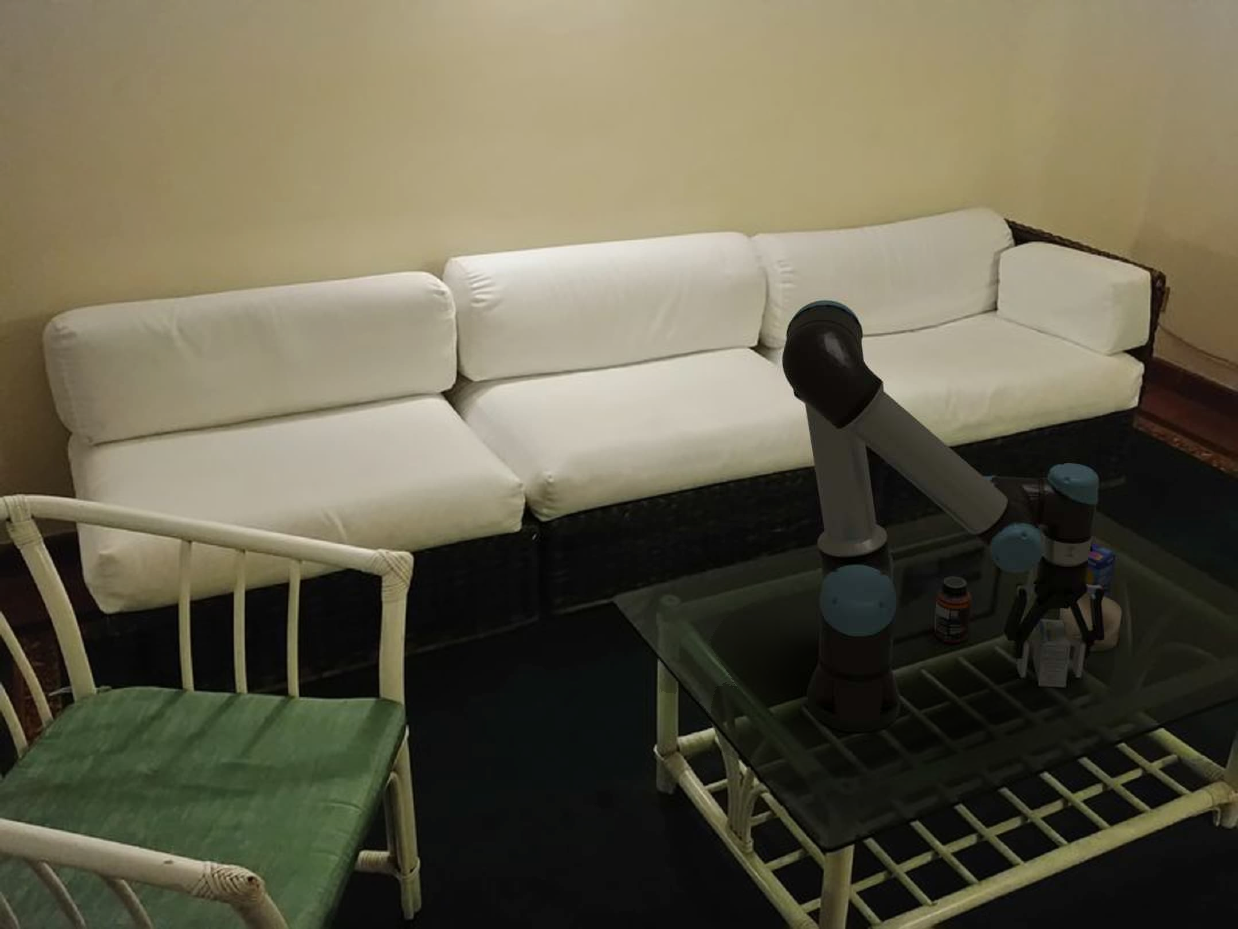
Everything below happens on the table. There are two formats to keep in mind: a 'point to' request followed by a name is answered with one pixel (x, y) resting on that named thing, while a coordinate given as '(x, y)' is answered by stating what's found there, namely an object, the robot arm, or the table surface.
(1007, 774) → the table surface
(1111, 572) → the ink cartridge box
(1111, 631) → the birch riser
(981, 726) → the table surface
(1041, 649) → the medicine box
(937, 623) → the supplement bottle
